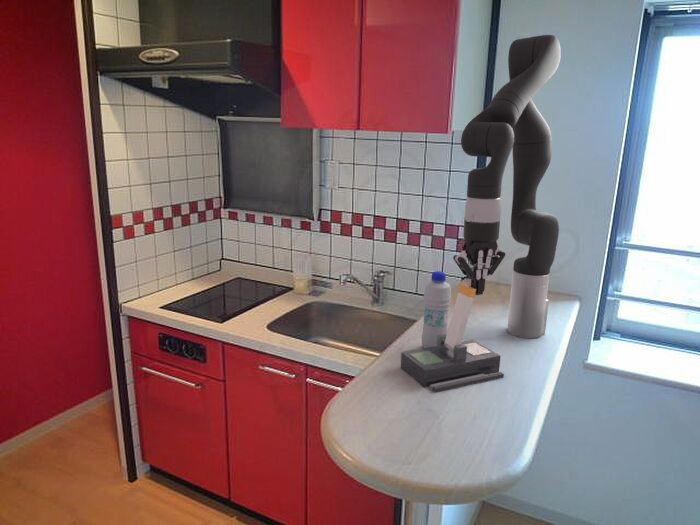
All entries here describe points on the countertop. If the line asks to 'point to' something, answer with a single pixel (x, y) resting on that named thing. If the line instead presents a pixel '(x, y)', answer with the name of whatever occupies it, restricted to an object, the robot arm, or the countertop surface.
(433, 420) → the countertop surface
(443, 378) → the switch box
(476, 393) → the countertop surface
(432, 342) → the bottle
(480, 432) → the countertop surface
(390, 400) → the countertop surface
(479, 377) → the dark grey bar
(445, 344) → the lever
